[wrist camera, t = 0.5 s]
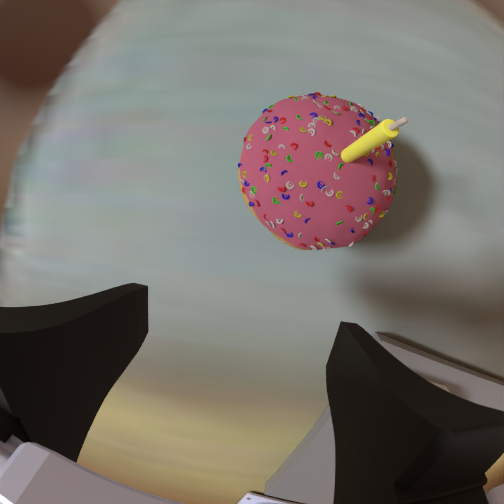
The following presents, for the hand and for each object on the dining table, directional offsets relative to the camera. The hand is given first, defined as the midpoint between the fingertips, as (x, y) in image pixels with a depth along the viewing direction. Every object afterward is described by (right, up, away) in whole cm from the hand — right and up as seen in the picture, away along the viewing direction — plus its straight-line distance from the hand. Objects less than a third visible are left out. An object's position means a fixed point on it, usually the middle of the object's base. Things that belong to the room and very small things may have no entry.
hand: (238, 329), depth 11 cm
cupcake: (+5, +8, +9) cm, 13 cm away
